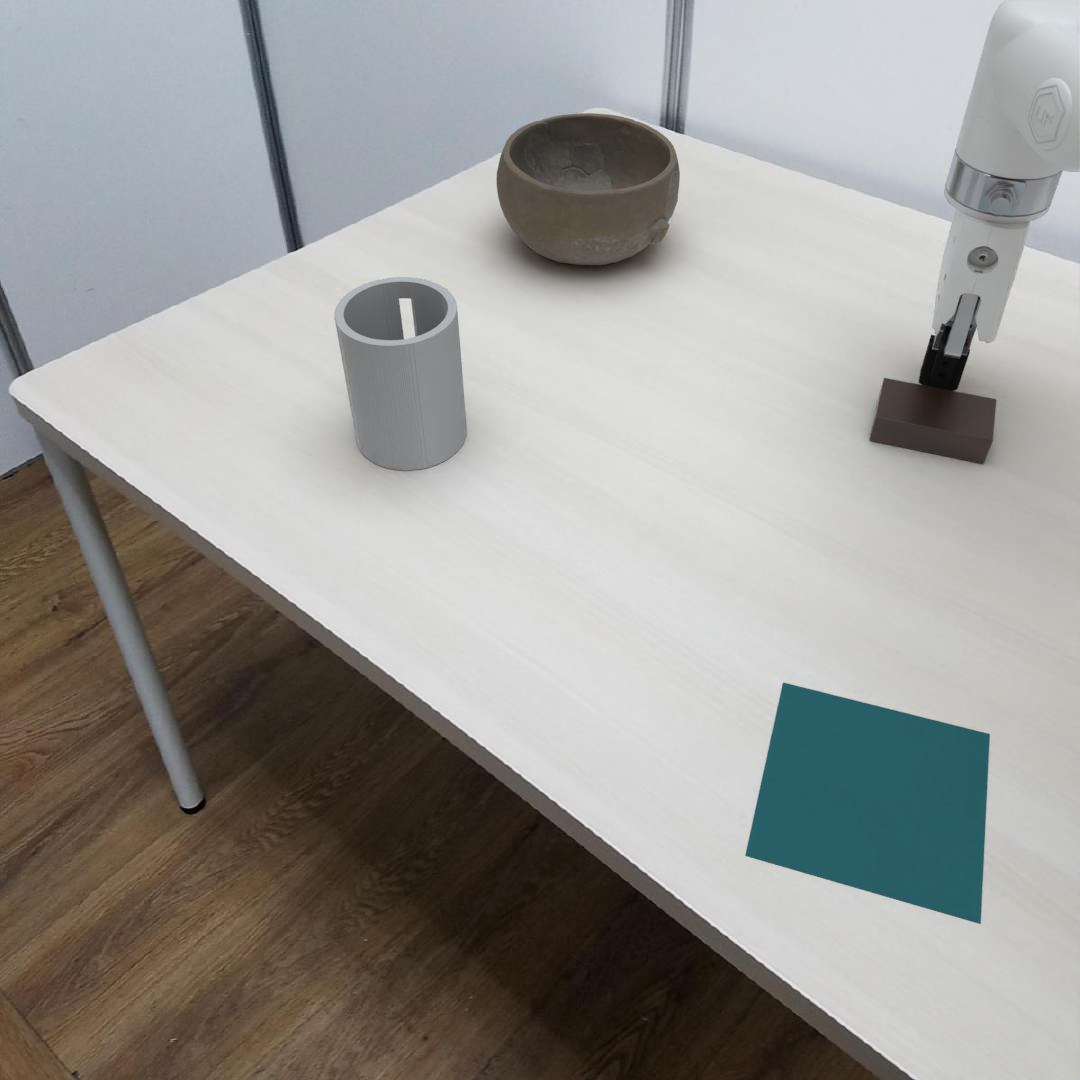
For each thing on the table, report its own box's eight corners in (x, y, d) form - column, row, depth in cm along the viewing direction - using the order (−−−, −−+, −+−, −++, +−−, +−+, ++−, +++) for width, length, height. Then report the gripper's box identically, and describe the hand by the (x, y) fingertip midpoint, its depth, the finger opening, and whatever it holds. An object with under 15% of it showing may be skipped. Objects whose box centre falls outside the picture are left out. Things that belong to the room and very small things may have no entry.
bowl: (703, 264, 106) (713, 169, 99) (537, 304, 102) (536, 207, 94) (627, 187, 117) (632, 97, 110) (475, 220, 113) (470, 127, 106)
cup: (380, 483, 84) (359, 359, 75) (341, 419, 90) (318, 296, 81) (484, 448, 87) (476, 324, 78) (440, 388, 93) (428, 265, 84)
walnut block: (988, 422, 88) (996, 398, 87) (983, 464, 85) (993, 440, 83) (877, 401, 91) (883, 377, 89) (868, 440, 87) (875, 416, 85)
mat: (988, 735, 67) (989, 733, 67) (979, 924, 59) (980, 923, 59) (782, 684, 70) (783, 682, 70) (745, 856, 62) (745, 855, 62)
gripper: (1054, 238, 72) (977, 445, 85) (1058, 143, 82) (989, 342, 95) (939, 220, 74) (881, 426, 87) (956, 129, 84) (902, 326, 97)
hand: (938, 382), depth 91 cm, fingers closed
